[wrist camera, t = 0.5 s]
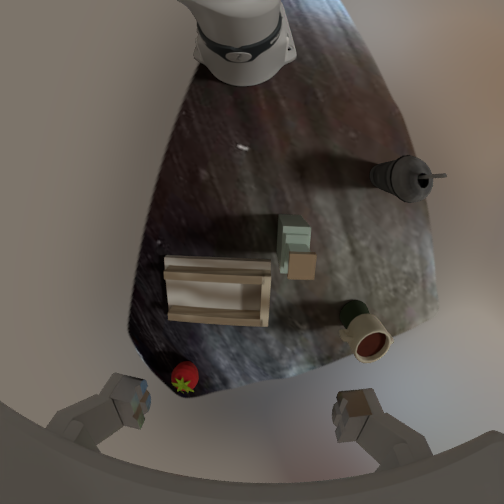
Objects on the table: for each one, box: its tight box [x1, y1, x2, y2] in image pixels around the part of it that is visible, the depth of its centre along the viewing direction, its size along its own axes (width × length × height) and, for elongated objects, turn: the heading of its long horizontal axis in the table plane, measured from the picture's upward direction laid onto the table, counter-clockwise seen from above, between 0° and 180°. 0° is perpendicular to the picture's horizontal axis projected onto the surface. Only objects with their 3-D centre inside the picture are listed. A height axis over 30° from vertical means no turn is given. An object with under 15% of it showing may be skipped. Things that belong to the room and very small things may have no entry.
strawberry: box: [171, 361, 199, 394], centre depth 54 cm, size 6×8×10 cm
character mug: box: [339, 300, 394, 363], centre depth 48 cm, size 11×7×13 cm, turn 81°
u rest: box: [164, 255, 271, 327], centre depth 51 cm, size 13×20×5 cm, turn 88°
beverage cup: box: [370, 155, 447, 203], centre depth 36 cm, size 7×7×20 cm
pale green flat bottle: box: [276, 214, 317, 280], centre depth 41 cm, size 7×4×18 cm, turn 178°
